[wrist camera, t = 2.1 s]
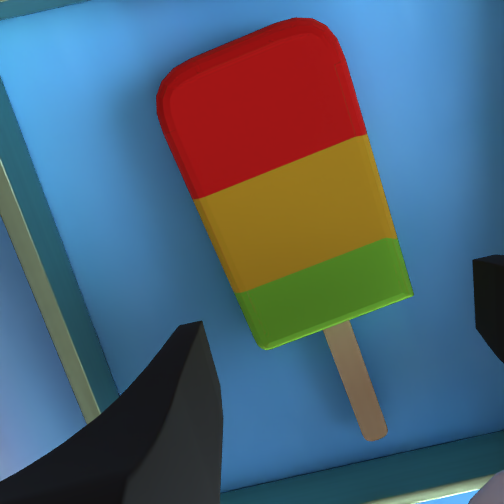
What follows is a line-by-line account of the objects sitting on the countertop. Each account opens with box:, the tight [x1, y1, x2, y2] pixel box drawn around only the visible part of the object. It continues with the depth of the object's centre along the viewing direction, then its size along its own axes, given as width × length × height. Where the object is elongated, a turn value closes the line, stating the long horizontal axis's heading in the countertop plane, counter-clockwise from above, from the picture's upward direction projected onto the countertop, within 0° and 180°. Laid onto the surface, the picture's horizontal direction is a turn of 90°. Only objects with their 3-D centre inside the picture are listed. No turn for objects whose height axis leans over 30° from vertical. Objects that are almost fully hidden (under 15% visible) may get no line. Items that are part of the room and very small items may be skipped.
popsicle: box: [156, 18, 414, 441], centre depth 16 cm, size 6×15×2 cm, turn 21°
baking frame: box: [0, 0, 504, 504], centre depth 15 cm, size 17×20×2 cm
